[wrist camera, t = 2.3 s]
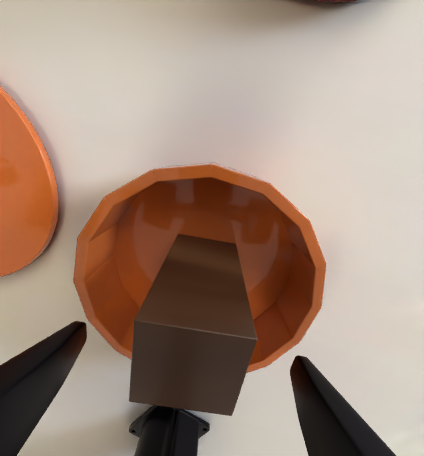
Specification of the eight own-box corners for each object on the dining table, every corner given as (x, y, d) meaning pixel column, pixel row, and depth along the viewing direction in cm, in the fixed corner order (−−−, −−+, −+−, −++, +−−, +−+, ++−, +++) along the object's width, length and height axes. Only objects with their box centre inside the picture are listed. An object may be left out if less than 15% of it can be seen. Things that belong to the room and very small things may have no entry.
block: (224, 292, 16) (232, 416, 8) (171, 283, 16) (128, 402, 8) (236, 243, 14) (258, 339, 7) (177, 233, 14) (133, 320, 7)
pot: (213, 356, 19) (213, 407, 15) (76, 269, 16) (33, 303, 12) (337, 252, 15) (378, 284, 11) (186, 112, 12) (172, 92, 8)
